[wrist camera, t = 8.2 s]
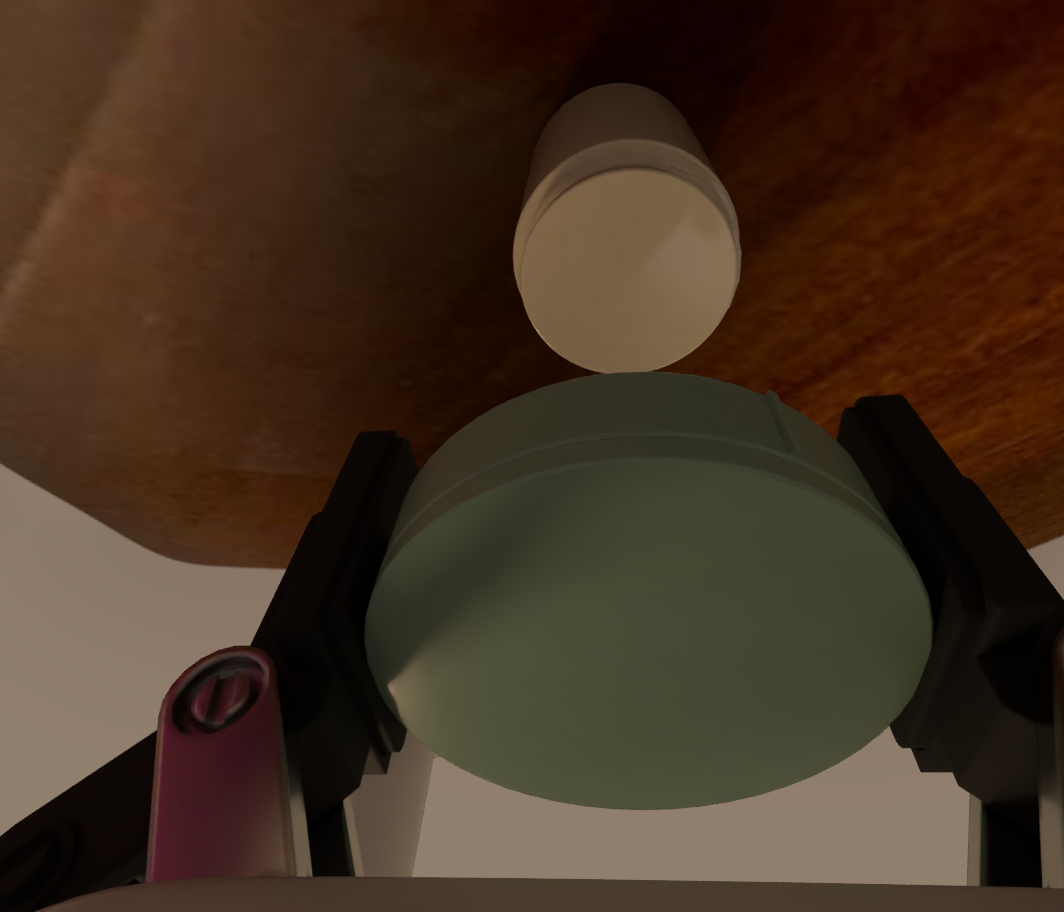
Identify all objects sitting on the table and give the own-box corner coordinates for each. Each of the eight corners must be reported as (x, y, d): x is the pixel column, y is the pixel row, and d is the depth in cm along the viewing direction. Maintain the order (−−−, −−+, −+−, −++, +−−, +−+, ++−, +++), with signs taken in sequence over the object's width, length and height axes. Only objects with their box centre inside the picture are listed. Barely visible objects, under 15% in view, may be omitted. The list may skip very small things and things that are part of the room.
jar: (645, 280, 26) (671, 414, 19) (506, 219, 25) (474, 336, 17) (731, 129, 22) (804, 221, 15) (573, 49, 21) (568, 106, 14)
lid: (497, 268, 7) (474, 342, 5) (1001, 486, 8) (1089, 592, 7) (346, 639, 10) (312, 738, 9) (704, 746, 12) (721, 848, 10)
